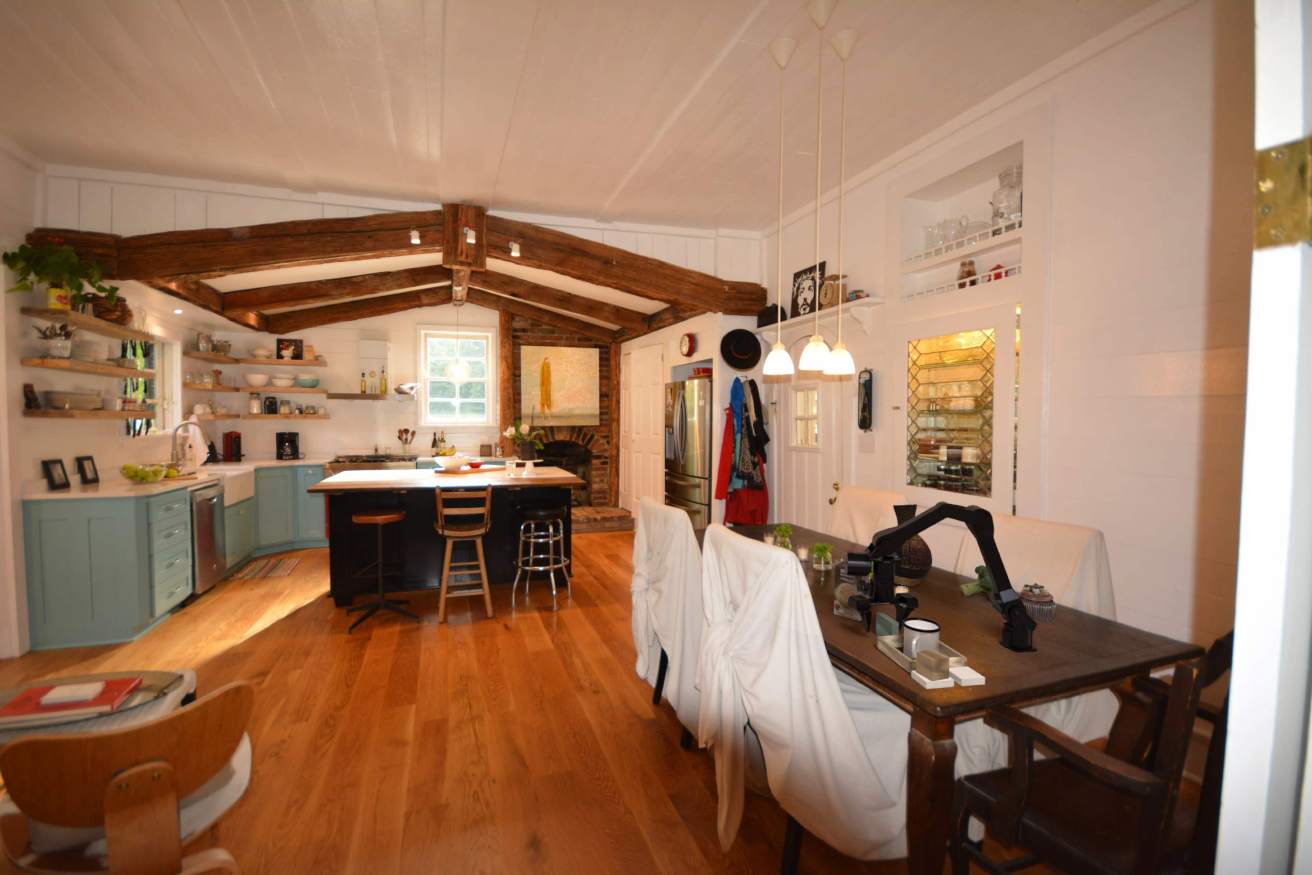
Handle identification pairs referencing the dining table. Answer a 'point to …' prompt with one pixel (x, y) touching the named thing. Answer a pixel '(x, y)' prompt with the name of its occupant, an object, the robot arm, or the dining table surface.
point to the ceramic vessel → (911, 552)
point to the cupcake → (1038, 602)
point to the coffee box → (846, 592)
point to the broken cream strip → (952, 678)
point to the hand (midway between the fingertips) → (882, 631)
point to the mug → (920, 635)
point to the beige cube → (932, 665)
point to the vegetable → (979, 583)
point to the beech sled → (891, 639)
